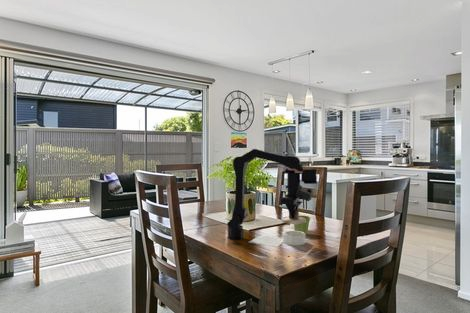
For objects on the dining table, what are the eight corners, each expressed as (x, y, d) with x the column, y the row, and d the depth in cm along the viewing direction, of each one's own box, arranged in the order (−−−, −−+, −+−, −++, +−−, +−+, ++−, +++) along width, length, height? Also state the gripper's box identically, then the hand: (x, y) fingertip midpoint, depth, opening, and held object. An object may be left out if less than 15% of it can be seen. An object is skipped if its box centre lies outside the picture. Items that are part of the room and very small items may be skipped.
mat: (248, 243, 139) (248, 242, 139) (261, 236, 151) (261, 235, 151) (276, 248, 132) (276, 246, 132) (287, 240, 144) (287, 238, 144)
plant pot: (313, 236, 151) (313, 218, 151) (295, 237, 150) (295, 219, 150) (306, 231, 161) (306, 215, 161) (289, 232, 159) (289, 215, 159)
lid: (278, 222, 137) (278, 211, 137) (286, 218, 147) (286, 207, 147) (301, 225, 132) (301, 213, 132) (309, 220, 141) (309, 209, 141)
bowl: (279, 244, 138) (279, 234, 138) (287, 238, 146) (287, 229, 146) (301, 247, 133) (301, 237, 133) (307, 241, 141) (307, 232, 141)
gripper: (304, 186, 127) (304, 223, 127) (316, 182, 143) (316, 215, 143) (279, 185, 133) (279, 220, 133) (294, 181, 149) (294, 213, 149)
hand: (293, 217), depth 139 cm, fingers closed on lid
